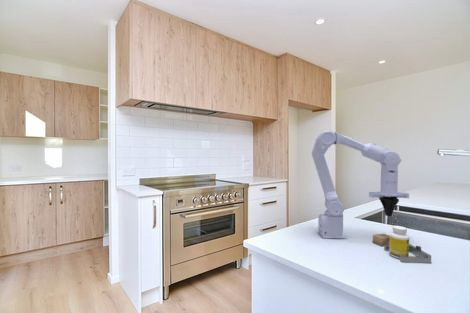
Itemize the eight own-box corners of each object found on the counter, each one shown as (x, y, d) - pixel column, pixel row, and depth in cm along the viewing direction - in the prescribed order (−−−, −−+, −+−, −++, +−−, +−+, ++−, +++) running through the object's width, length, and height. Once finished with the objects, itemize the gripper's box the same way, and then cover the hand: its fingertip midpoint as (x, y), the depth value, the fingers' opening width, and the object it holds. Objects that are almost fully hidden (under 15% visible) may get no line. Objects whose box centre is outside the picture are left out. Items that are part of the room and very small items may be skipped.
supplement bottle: (410, 261, 78) (410, 231, 78) (390, 257, 80) (390, 228, 80) (407, 254, 83) (407, 226, 83) (388, 251, 85) (389, 224, 85)
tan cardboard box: (381, 246, 90) (381, 238, 90) (372, 242, 94) (372, 234, 94) (394, 244, 92) (394, 236, 92) (384, 241, 96) (384, 233, 96)
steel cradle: (401, 262, 77) (402, 251, 77) (384, 249, 87) (384, 240, 87) (431, 263, 77) (431, 252, 76) (409, 250, 87) (410, 241, 86)
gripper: (375, 182, 93) (375, 217, 93) (414, 183, 92) (414, 218, 92) (366, 180, 100) (366, 213, 100) (402, 181, 99) (402, 214, 99)
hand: (388, 215), depth 96 cm, fingers closed
